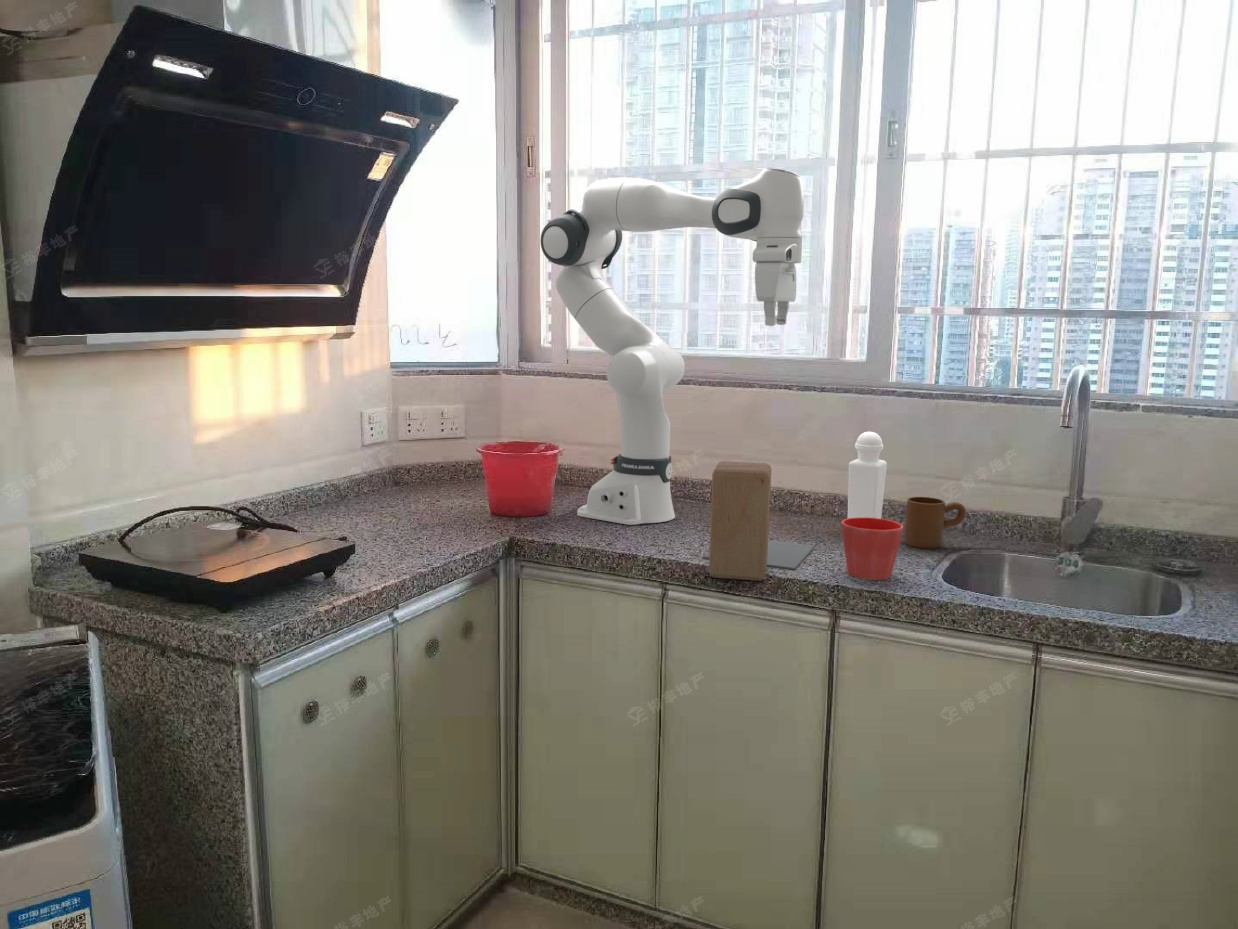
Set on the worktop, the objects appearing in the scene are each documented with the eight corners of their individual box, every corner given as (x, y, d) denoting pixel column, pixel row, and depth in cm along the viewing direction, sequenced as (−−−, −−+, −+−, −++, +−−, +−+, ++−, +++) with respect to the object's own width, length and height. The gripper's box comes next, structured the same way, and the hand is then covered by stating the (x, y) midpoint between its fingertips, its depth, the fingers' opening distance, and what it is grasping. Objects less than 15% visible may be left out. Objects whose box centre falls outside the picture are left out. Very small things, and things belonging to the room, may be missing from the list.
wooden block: (764, 583, 168) (769, 472, 165) (708, 578, 170) (711, 469, 167) (767, 567, 178) (771, 462, 174) (713, 563, 180) (717, 460, 176)
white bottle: (873, 536, 203) (880, 434, 199) (844, 532, 206) (850, 431, 202) (882, 530, 208) (889, 431, 204) (853, 526, 211) (859, 428, 208)
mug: (957, 541, 200) (960, 497, 199) (968, 550, 193) (972, 505, 191) (899, 539, 201) (902, 495, 199) (908, 548, 193) (912, 503, 192)
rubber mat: (702, 558, 183) (702, 556, 183) (728, 537, 200) (729, 535, 200) (794, 570, 177) (794, 568, 177) (814, 547, 193) (814, 545, 193)
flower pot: (854, 563, 182) (857, 513, 181) (909, 574, 175) (912, 523, 174) (828, 574, 174) (831, 523, 173) (884, 586, 167) (888, 533, 166)
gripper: (774, 256, 197) (772, 323, 199) (750, 251, 178) (747, 325, 181) (805, 256, 195) (802, 324, 197) (783, 251, 176) (780, 326, 178)
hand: (775, 325), depth 189 cm, fingers open, 8 cm apart
